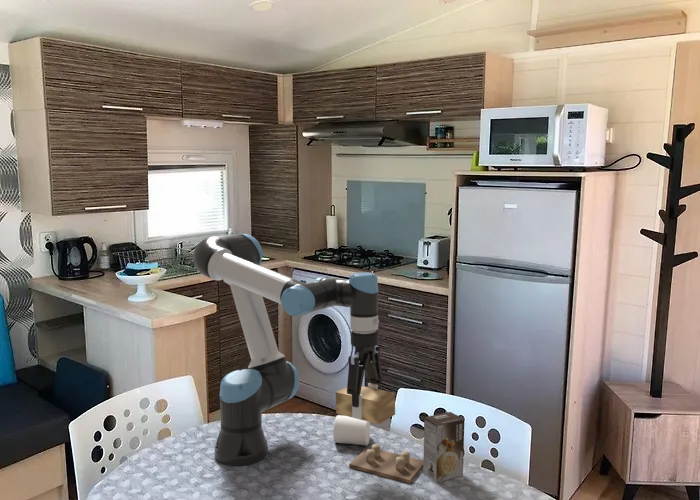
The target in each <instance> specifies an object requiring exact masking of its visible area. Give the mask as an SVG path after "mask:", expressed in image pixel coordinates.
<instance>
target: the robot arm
mask: <svg viewBox="0 0 700 500" xmlns="http://www.w3.org/2000/svg"><path fill="white" fill-rule="evenodd" d="M263 255H264V254H263V249H262V246H261V244H260V242H259V240H257V239H256V238H255V237H254V236H252V235H250V234H249V233H247V234H246V233H232V234H223V235H212V236H208V237H205V238H204V239H202V240H200V241H198V243H197V245H196V246H195V248H194V250H193V254H192V260H193V264H194V266H195V268H196V269H197V271H198V272H199V273H200V274H201V275H203V276H205V277H206V278H209V279H211V280H213V281H218V282H219V281H222V280H223V283H226V284H227V285H229V287H230V290H231V293H232V298H233V301H234V303H235V307H236V311H237V314H238V318H239V322H240V324H241V325H240V326H241V328H242V331H243V336H244V339H245V342H246V347H247V349H248V353H249V356H250V359H251V360H250V362H249V364H248V367H247V368H244V369H243V368H242V369H237V370H234V371H231V372H229V373H228V374H226V375H224V377H223V378H222V380H221V382H220V387H219V389H220V390H219V407H220V408H219V409H220V410H219V411H220V429H219V434H218V436H217V438H216V442H215V446H214V457H215V459H216V460H217V461H218V462H219V463H221V464H224V465H228V466H246V465H247V466H248V465H250V464H255V463H257V462H260V461H262V460H263V459H265V458H266V456H267V455H268V452H269V447H268V446H269V445H268V441H267V439H266V435H265V432H264V430H263V426H262V424H263V423H262V422H263V421H262V419H263V418H262V417H263V416H262V413H263V412H265V411H267V410H269V409H271V408H273V407H276V406H278V405H279V404H284V403H286V402H288V400H290V399H292V398H293V397H294V396H295V395H296V394H297V392H298V389H299V387H300V375H299V372H298V370H297V368H296V366H295V365H293V364H292V362H289V361H287V358H286V356H285V354H284V353H281V352H280V351H279V349H278V346H277V342H276V339H275V336H274V335H275V334H274V331H273V328H272V325H271V321H270V318H269V314H268V310H267V308H266V304H265V301H264V298H266V299H268V300H270V301H272V302H274V303H276V304H277V303H278V304H279V305H281V307H282V309H283V310H284V311H285V312H286V314H287V315H289V316H292V317H298V316H306V315H308V314H311V313H314V312H316V311H319V310H325V309H327V308H331V307H345V308H349V313H350V314H349V315H350V320H349V321H350V330H351V332H350V345H351V346H352V347H354V355H353V356H351V355H350V356H348V361H347V362H348V371H347V382H346V383H347V385H346V387H347V394H351V395H352V417H353V418H358V419H362V394H360V393H361V387H362V386H363V380H364V377H365V371H366V373H367V377H368V381H369V383H367V387H369V388H374V389H378V387H379V385H381V384H382V378H383V374H382V364H381V346H380V345H379V341H380V339H379V331H378V330H379V324H380V320H379V290H380V288H379V282H378V275H377V274H376V273H373V272H367V271H366V272H363V271H361V272H354V273H351V274H350V275H349V279H346V278H338V277H337V278H336V277H331V276H325V277H324V276H321V277H317V278H315V280H314V281H313V282H308V283H307V282H306V283H305V282H303V281H300V280H297V279H294V278H292V277H289V276H287V275H285V274H282V273H279V272H277V271H274V270H272V269H269V268H267V267H265V266H262V265H261V264H262V261H263V260H262V259H263ZM378 390H379V389H378Z"/></svg>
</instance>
